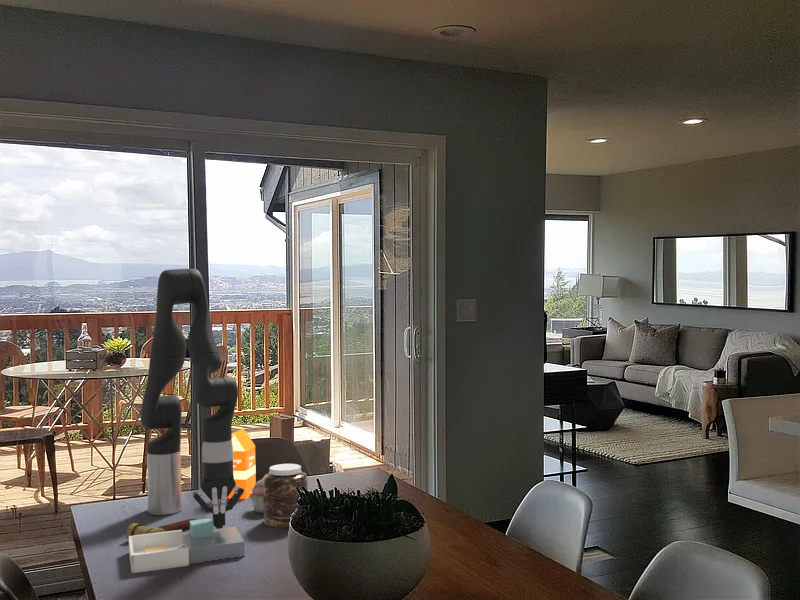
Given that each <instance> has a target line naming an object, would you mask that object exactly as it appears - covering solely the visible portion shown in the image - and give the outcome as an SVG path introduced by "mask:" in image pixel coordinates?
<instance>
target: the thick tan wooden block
mask: <svg viewBox="0 0 800 600" xmlns="http://www.w3.org/2000/svg"><path fill="white" fill-rule="evenodd" d="M165 550H168V549H167V545H166V544H161V545H153V546H144V553H150V552H157V551H165Z"/></svg>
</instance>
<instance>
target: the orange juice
mask: <svg viewBox="0 0 800 600" xmlns="http://www.w3.org/2000/svg"><path fill="white" fill-rule="evenodd" d="M232 445H233V453H234V457H233V474H234V480H235V482H236V485H238V486H239V487H242V488H243V489H244V493H243V494H242V496H241V497H240V498H239V500H247V499H248V498H250V493H252V488H253V487H254V486H255V483H257V480H256V476H257V475H256V473H257V472H256V471H257V470H256V465H257V464H256V444H255V443H254V442H253V440H252V439H251V437H250V436H249V434H248V432H247V431H246V430H245V428H241V429H240V430H237V431H235V432H234V433H233V434H232ZM233 490H234V489H233ZM233 490H232V492H231V493H230V495H229V496H228V497H227V498H231V497H232V496H233V494H234V493H233ZM227 498H226V499H227Z"/></svg>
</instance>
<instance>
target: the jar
mask: <svg viewBox="0 0 800 600" xmlns="http://www.w3.org/2000/svg"><path fill="white" fill-rule="evenodd" d="M263 477H264V483H263V504H264V513H263V523H264V525H266V526H267V525H268V527H271V528H290V527H289V522H290V517H291V514H292V513H293V512H294V510H295V509H296V508H298V507H299V505H298V504H297V502H296V501H297V499H299V494H298V492H297V490H296V488H297V487H298V488H299V489H300V490H301V491H302V492H303V490H302V487H305V488H306V489H307V490H308V487H309V486H308V475H307V473H306V472H304V471H302V466H301V465H300V464H297V463H281V464H280V463H279V464H275V465H271V466H269V472H268V473H266V474H264V476H263ZM308 491H309V490H308Z"/></svg>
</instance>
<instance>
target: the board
mask: <svg viewBox="0 0 800 600" xmlns="http://www.w3.org/2000/svg"><path fill="white" fill-rule="evenodd" d="M213 534H214V536H210V537H202V538H195V539H192V537H191V534H190V531H187V532H182V545H183V548H189V565H192V564H193V565H194V564H199V563H206V562H205V561H208V562H213V561H212V560H215V561H220V560H219V559H222V560H227V559H226V558H229V559H235V558H234V557H237V558H243V557H242V556H244V557H245V554H246V553H245V541H244V538H243V537H242V535H241V534H240V532H239V531H238V528H237V527H236V526H228V527H223V528H221V529H216V528H213Z"/></svg>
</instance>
